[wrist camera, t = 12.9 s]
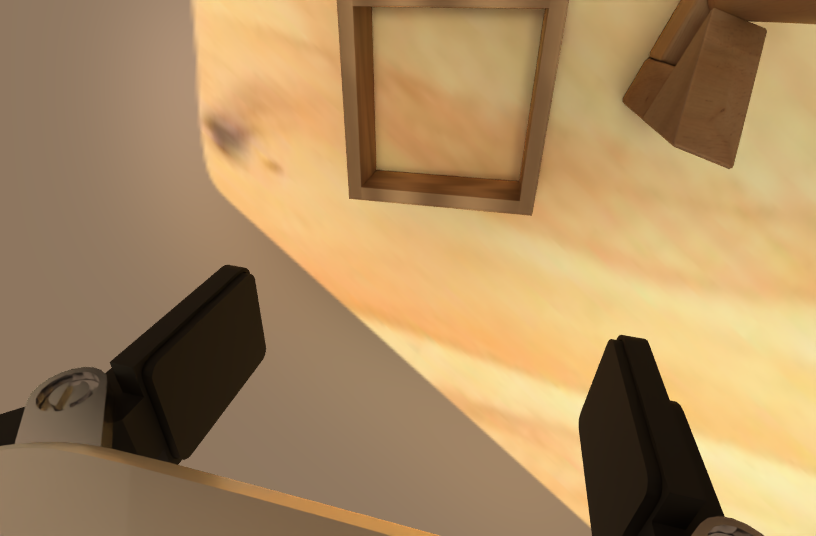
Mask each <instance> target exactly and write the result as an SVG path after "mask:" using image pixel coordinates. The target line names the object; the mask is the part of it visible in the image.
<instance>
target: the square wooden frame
mask: <svg viewBox="0 0 816 536" xmlns="http://www.w3.org/2000/svg"><path fill="white" fill-rule="evenodd" d="M568 3H569V0H337V12H338V28H339V43H340V59H341V75H342V91H343V107H344V123H345V138H346V154H347V170H348V186H349V199H358V200H369V201H380V202H391V203H402V204H413V205H423V206H434V207H445V208H456V209H467V210H477V211H488V212H499V213H510V214H521V215H531V216H532V213H533V207H534V201H535V195H536V190H537V184H538V178H539V172H540V166H541V160H542V155H543V149H544V143H545V137H546V131H547V125H548V120H549V114H550V108H551V102H552V96H553V90H554V85H555V79H556V73H557V67H558V61H559V55H560V50H561V44H562V38H563V32H564V26H565V20H566V14H567V9H568ZM372 7H447V8H538V9H545V12H544V19H543V25H542V32H541V39H540V46H539V52H538V59H537V66H536V72H535V79H534V86H533V93H532V99H531V106H530V113H529V120H528V126H527V133H526V140H525V147H524V153H523V160H522V167H521V174H520V180H519V182H518V181H506V180H493V179H481V178H468V177H456V176H443V175H430V174H418V173H405V172H393V171H380V170H376V145H375V109H374V74H373V38H372Z"/></svg>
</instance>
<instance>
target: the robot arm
mask: <svg viewBox="0 0 816 536" xmlns="http://www.w3.org/2000/svg"><path fill="white" fill-rule="evenodd" d="M265 352H266V345H265V339H264V332H263V326H262V320H261V314H260V308H259V302H258V295H257V289H256V284H255V278H254V276H253V275H252V274H250V272H249V270H248V269H247V268H243V267H237V266H231V265H225V266H223V267H221V268H220V269H219V270H218V271H217V272H216V273H214V274H213V275H212V276H211V277H210V278H208V279H207V280H206V281H205V282H204V283H203V284H201V285H200V286H199V287H198V288H197V289H195V290H194V291H193V292H192V293H191V294H190V295H188V296H187V297H186V298H185V299H184V300H183V301H181V302H180V303H179V304H178V305H177V306H175V307H174V308H173V309H172V310H171V311H170V312H168V313H167V314H166V315H165V316H164V317H162V318H161V319H160V320H159V321H158V322H157V323H155V324H154V325H153V326H152V327H151V328H150V329H148V330H147V331H146V332H145V333H144V334H142V335H141V336H140V337H139V338H138V339H137V340H135V341H134V342H133V343H132V344H131V345H129V346H128V347H127V348H126V349H125V350H124V351H122V352H121V353H120V354H119V355H118V356H116V357H115V358H114V359H113V360H112V361H111V362H110V364H111V367H112V368H111V369H110V370H109V371H108V372H106V373H104V372H103V371H102V370H100V369H97V368H94V367H81V368H75V369H71V370H68V371H64V372H61V373H59V374H57V375H55V376H53V377H51V378H49V379H48V380H46V381H45V382H43V383H42V384H40V385H39V386H38V387H37V388H36V389H35V390H34V391H33V392H32V393H31V394H30V397H29V398H28V400H27V403H26V406H25V407H23V408H19V409H16V410H13V411H10V412H6V413H3V414H0V536H439V535H436V534H432V533H428V532H425V531H421V530H417V529H414V528H410V527H406V526H403V525H400V524H396V523H392V522H389V521H385V520H381V519H377V518H374V517H370V516H367V515H363V514H359V513H356V512H352V511H348V510H345V509H341V508H337V507H334V506H330V505H326V504H322V503H319V502H315V501H311V500H308V499H304V498H300V497H297V496H293V495H289V494H285V493H282V492H278V491H274V490H271V489H267V488H263V487H259V486H256V485H252V484H248V483H244V482H240V481H237V480H233V479H229V478H225V477H222V476H218V475H214V474H210V473H206V472H203V471H199V470H195V469H191V468H188V467H184V466H180V465H178V464H179V463H180V462H181V460H182V459H183V460H185V459H187V458H189V457H190V456H191V454H192V453H193V452H194V451H195V449H196V448H197V446H198V445H199V444H200V443H201V441H202V440H203V439H204V437H205V436H206V435H207V433H208V432H209V431H210V429H211V428H212V427H213V425H214V424H215V423H216V421H217V420H218V419H219V417H220V416H221V415H222V413H223V412H224V411H225V409H226V408H227V407H228V405H229V404H230V403H231V401H232V400H233V399H234V397H235V396H236V395H237V393H238V392H239V391H240V389H241V388H242V387H243V385H244V384H245V383H246V381H247V380H248V378H249V377H250V376H251V375H252V373H253V372H254V371H255V369H256V368H257V367H258V365H259V364H260V363H261V361H262V360H263V358H264V356H265ZM579 434H580V442H581V450H582V458H583V467H584V475H585V483H586V491H587V499H588V507H589V515H590V523H591V530H592V536H764V535H763V534H761V533H760V532H758V531H757V530H755V529H753V528H752V527H750V526H749V525H747V524H745V523H742V522H740V521H737V520H735V519H733V518H727V517H725V516H724V514H723V511H722V509H721V506H720V503H719V501H718V498H717V496H716V493H715V491H714V488H713V486H712V483H711V480H710V478H709V475H708V473H707V470H706V468H705V465H704V462H703V460H702V457H701V455H700V452H699V450H698V447H697V445H696V442H695V439H694V437H693V434H692V432H691V429H690V427H689V424H688V421H687V419H686V416H685V414H684V411H683V409H682V408H681V406H680V405H679V404H678V403H677V402H675V401H670V400H669V397H668V394H667V392H666V389H665V386H664V384H663V381H662V378H661V375H660V373H659V370H658V367H657V364H656V362H655V359H654V356H653V353H652V351H651V348H650V345H649V343H648V341H647V340H646V339H642V338H636V337H631V336H625V335H619V336H618V338H617V340H613V339H610V340H609V341H608V343H607V346H606V348H605V351H604V353H603V356H602V359H601V361H600V364H599V366H598V369H597V372H596V374H595V377H594V379H593V382H592V385H591V387H590V390H589V392H588V395H587V398H586V400H585V403H584V405H583V408H582V411H581V413H580V417H579Z"/></svg>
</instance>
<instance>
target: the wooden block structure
mask: <svg viewBox="0 0 816 536" xmlns="http://www.w3.org/2000/svg"><path fill="white" fill-rule="evenodd" d="M748 21H756V22H779V23H803V24H816V0H681V1H680V3H679V5H678V7H677V8H676V10H675V12H674V13H673V15H672V17H671V18H670V20H669V22H668V23H667V25H666V27H665V29H664V30H663V32H662V34H661V35H660V37H659V39H658V40H657V42H656V44H655V45H654V47H653V49H652V50H651V52H650V57H651V58H652V59H647V60H646V61H645V62H644V64H643V66H642V67H641V69H640V71H639V72H638V74H637V76H636V77H635V79H634V81H633V82H632V84H631V86H630V88H629V89H628V91H627V93H626V94H625V96H624V98H623V103H624V104H625V105H626V106H628V107H629V108H630V109H631V110H632V111H633V112H635V113H636V114H637V115H638V116H639V117H640V118H642V119H643V120H644V121H645V122H646V123H647V124H648V125H649V126H651V127H652V128H653V129H654V130H655V131H656V132H658V133H659V134H660V135H661V136H662V137H663V138H665V139H666V140H667V141H668V142H669V143H670V144H672V145H673V146H674V147H676V148H679V149H681V150H684V151H686V152H689V153H691V154H693V155H696V156H698V157H701V158H703V159H706V160H708V161H711V162H713V163H716V164H718V165H720V166H723V167H725V168H728V169H730V168H732V167H733V165H734V161H735V157H736V153H737V149H738V145H739V141H740V137H741V133H742V129H743V125H744V121H745V117H746V113H747V109H748V105H749V101H750V97H751V93H752V89H753V85H754V81H755V77H756V73H757V69H758V65H759V61H760V57H761V53H762V49H763V45H764V41H765V37H766V33H767V30H766V29H765V28H763V27H760V26H758V25H755V24H753V23H750V22H748Z"/></svg>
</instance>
